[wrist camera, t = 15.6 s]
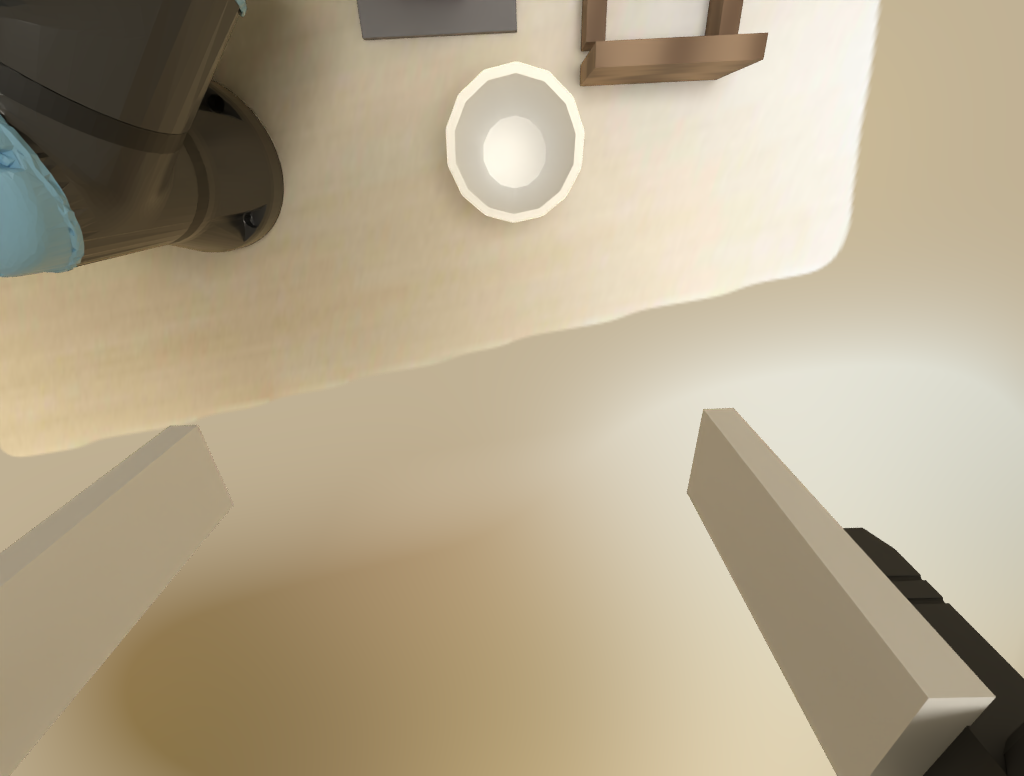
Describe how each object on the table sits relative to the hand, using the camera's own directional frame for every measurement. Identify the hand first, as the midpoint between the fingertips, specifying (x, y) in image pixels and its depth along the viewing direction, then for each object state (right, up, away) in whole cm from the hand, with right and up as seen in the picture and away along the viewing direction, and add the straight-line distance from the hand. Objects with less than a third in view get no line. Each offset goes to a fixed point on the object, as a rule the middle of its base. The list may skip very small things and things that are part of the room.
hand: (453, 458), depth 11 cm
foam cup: (+2, +24, +29) cm, 38 cm away
